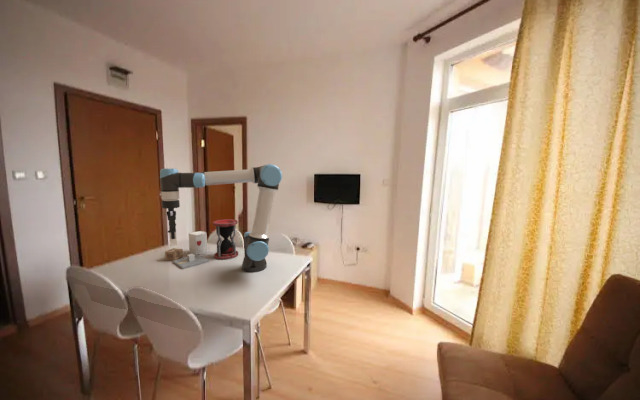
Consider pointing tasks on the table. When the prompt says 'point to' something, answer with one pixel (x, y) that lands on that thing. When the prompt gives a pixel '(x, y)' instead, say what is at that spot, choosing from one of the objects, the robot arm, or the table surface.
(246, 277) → the table surface
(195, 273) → the table surface
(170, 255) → the brown cardboard crate
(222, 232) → the hourglass
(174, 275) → the table surface
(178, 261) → the plate
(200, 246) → the supplement box
